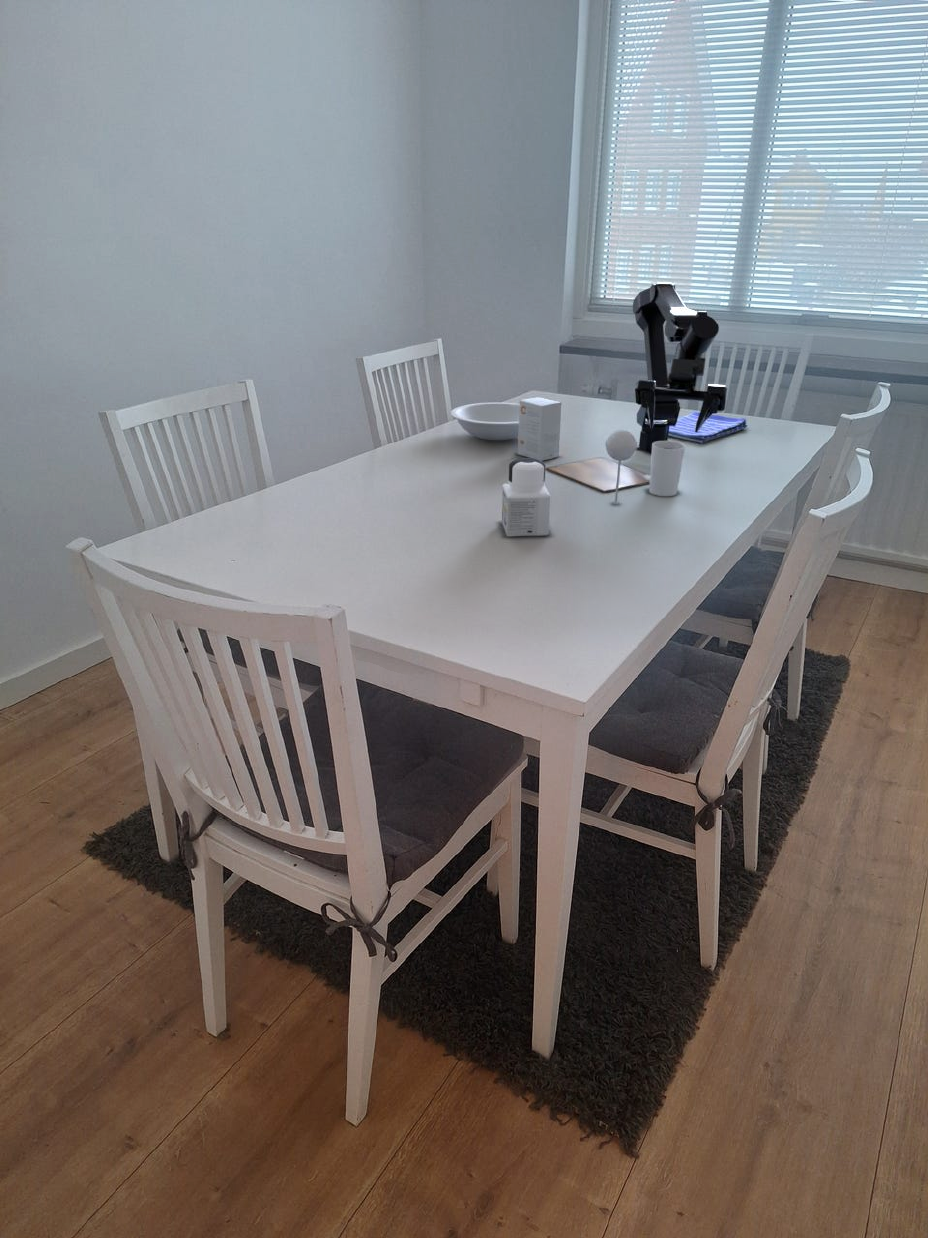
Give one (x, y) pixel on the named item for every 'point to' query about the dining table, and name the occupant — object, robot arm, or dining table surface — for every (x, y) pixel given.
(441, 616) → the dining table surface
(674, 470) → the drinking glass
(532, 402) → the small box
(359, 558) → the dining table surface
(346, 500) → the dining table surface
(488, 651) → the dining table surface
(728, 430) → the dish towel
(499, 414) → the soup bowl
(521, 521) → the container
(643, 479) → the glossy brown placemat
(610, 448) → the lollipop
